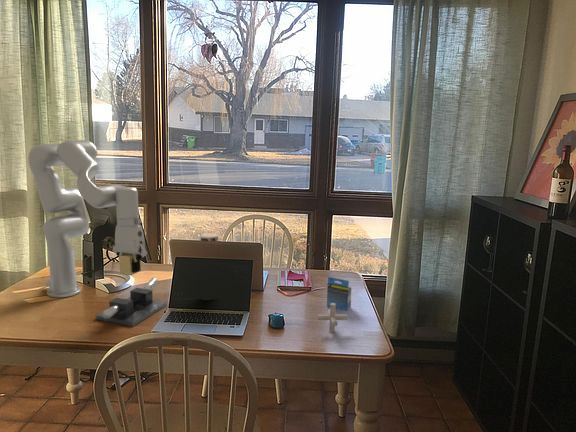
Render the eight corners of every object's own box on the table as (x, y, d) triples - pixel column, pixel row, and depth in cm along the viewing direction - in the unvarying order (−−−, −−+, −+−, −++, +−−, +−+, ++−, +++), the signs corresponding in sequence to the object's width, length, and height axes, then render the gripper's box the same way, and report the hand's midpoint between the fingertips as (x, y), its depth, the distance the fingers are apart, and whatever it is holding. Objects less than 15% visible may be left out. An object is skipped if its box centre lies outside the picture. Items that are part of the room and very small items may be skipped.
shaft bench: (87, 323, 165) (85, 299, 164) (139, 295, 192) (138, 274, 190) (125, 331, 160) (124, 306, 158) (173, 301, 187) (172, 279, 185)
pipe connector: (315, 325, 168) (316, 298, 166) (343, 324, 169) (344, 298, 167) (319, 337, 159) (320, 309, 157) (349, 337, 159) (350, 309, 157)
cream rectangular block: (120, 274, 170) (119, 255, 169) (130, 269, 176) (129, 251, 175) (130, 275, 169) (129, 256, 168) (141, 270, 175) (140, 252, 173)
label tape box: (351, 307, 185) (352, 277, 182) (347, 311, 181) (348, 280, 179) (330, 303, 189) (331, 273, 186) (326, 306, 185) (327, 276, 183)
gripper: (154, 221, 170) (156, 270, 173) (115, 218, 175) (118, 265, 179) (141, 226, 163) (143, 276, 166) (101, 221, 168) (104, 271, 172)
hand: (130, 270), depth 172 cm, fingers closed on cream rectangular block, 4 cm apart
